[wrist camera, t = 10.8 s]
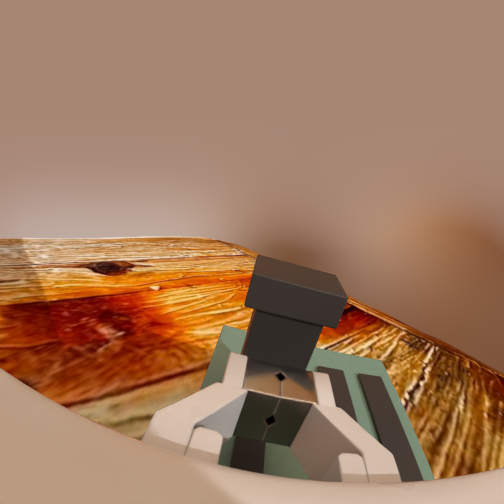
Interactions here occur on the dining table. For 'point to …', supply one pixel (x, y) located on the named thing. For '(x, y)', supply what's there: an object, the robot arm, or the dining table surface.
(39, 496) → the robot arm
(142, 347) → the dining table surface
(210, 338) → the dining table surface
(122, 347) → the dining table surface
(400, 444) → the toaster
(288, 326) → the slide switch
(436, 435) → the dining table surface
